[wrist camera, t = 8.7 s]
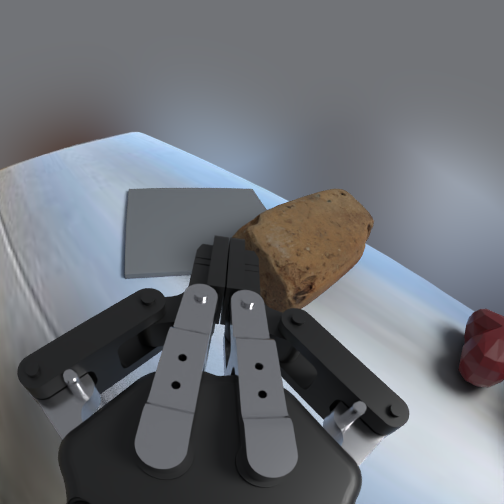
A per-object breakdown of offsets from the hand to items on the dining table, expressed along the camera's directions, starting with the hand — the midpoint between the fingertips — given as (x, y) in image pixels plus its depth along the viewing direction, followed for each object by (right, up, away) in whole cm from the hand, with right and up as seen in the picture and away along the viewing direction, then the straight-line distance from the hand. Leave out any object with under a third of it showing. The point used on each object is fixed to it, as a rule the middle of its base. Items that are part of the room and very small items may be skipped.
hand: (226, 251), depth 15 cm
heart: (+31, -15, +14) cm, 37 cm away
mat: (-6, +4, +28) cm, 29 cm away
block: (+1, -3, +15) cm, 15 cm away
